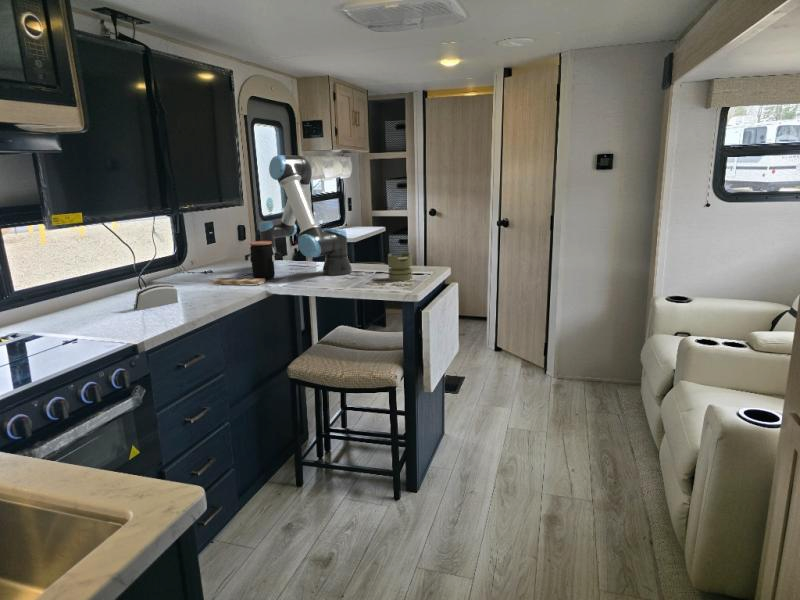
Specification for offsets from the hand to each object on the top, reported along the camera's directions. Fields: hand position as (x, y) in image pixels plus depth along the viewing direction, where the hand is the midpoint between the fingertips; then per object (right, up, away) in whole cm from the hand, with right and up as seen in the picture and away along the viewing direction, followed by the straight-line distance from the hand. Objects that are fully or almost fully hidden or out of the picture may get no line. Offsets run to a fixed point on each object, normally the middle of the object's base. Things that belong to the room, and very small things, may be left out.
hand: (261, 259), depth 258 cm
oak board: (-11, -12, -1) cm, 16 cm away
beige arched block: (-32, -23, -42) cm, 57 cm away
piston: (+68, -10, -3) cm, 69 cm away
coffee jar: (0, -9, +6) cm, 11 cm away
